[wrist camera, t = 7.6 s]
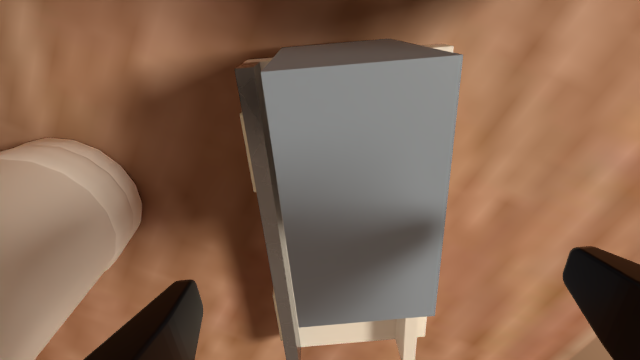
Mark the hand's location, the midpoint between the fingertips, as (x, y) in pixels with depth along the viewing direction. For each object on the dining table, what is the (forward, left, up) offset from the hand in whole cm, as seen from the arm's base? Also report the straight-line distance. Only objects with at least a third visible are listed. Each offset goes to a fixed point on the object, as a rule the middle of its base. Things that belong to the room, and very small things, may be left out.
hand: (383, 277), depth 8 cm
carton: (0, 0, -10) cm, 11 cm away
